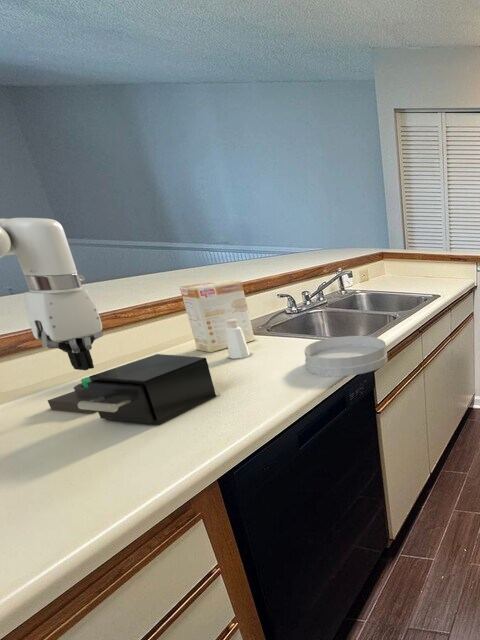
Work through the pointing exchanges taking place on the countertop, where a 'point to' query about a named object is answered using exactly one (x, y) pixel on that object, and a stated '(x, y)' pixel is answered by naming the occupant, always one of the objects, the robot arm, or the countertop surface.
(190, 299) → the coffeecake box
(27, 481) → the countertop surface
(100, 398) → the drawer
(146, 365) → the cabinet
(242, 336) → the salt shaker
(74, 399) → the control block
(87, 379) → the button
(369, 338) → the dish
